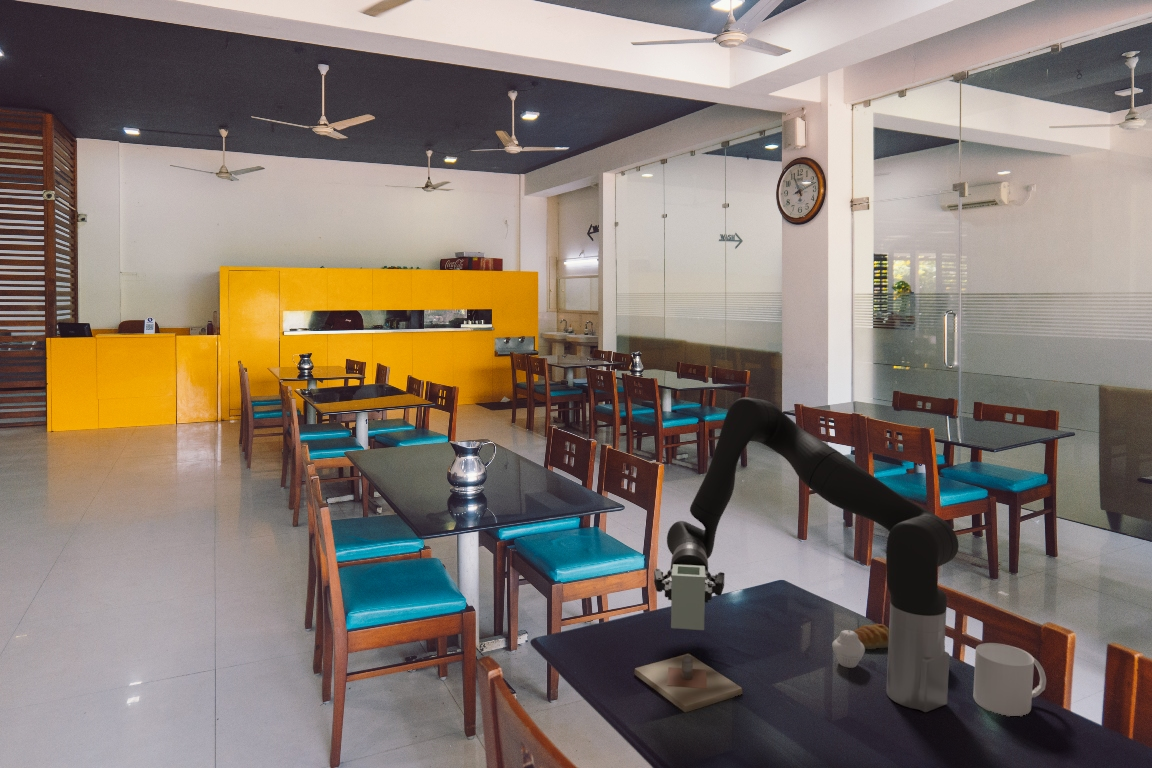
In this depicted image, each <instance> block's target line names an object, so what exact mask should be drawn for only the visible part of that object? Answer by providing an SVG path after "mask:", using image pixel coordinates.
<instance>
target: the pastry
mask: <svg viewBox="0 0 1152 768" xmlns="http://www.w3.org/2000/svg"><path fill="white" fill-rule="evenodd" d="M853 631H854V632H855V633H856V634H857V635H858V639H859V640H860V642H861V643H862V644H863V645H864V647H865V650H866V649H867V650H876V648H879V649H886V648H888V643H889V628H888V626H886V625H885V624H883V623H882V624H881V623H880V624H879V623H878V622H877V623H875V624H868V625H865V624H864V625H861V626H859V627H858V628H857V629H854V630H853Z"/></svg>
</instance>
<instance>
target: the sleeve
mask: <svg viewBox="0 0 1152 768" xmlns="http://www.w3.org/2000/svg"><path fill="white" fill-rule="evenodd" d="M670 601H671V604H670V605H671V609H670V628H671V629H683V630H694V631H695V630H697V631H705V609H706V608H705V607H706V606H705V604H706V602H705V566H695V565H677V564H673V568H672V594H671V600H670Z"/></svg>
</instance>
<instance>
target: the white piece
mask: <svg viewBox="0 0 1152 768" xmlns="http://www.w3.org/2000/svg"><path fill="white" fill-rule="evenodd" d="M831 644H832V645H831V646H832V650H833V653H834V655H835V658H836V659H837V661H838V664H840V666H842V667H845V668H849V669H850V668H851V669H854V668H856V667H857V666H858V664H859V663H860V662H861V659H862V658H863V656H864V654H865V652H866V649H865V647H864V645H863V644H862V643H861V642H860V640H859V639H858V635H857V634H856V633H855V632H854V630H851V629H844V630H841V632H839V636H838V637H837V638H836V639H834V640H833V641H832V643H831Z"/></svg>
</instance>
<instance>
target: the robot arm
mask: <svg viewBox="0 0 1152 768" xmlns="http://www.w3.org/2000/svg"><path fill="white" fill-rule="evenodd" d="M719 433H720V434H719V437H718V439H717V442H716V446H715V448H714V452H713V456H712V458H711V461H710V463H709V467H708V469H707V471H706V474H705V476H704V478H703V481H702V483H701V484H700V486H699V488H698V491H697V492H696V494H695V497H694V499H693V500H692V503H691V504H690V507H689V512H690V514H691V516H692V517H693V518H695V519H696V520H697V521H698V522H699V523H700V524H701V525H702V526H703V528H704V529H702V528H699V527H698V526H695V525H693V524H691V523H690V522H687V521H684V520H678V521H676V522H673V524H672V525H671V526H670V527H669V529H668V532H667V535H666V546H667V548H668V550H669V552H670V554H671V555H672V556H671V561H670V569H669V570H667V572H664V571H661V569H660V568H654V569H653V584H654V588H655V592H657V593H658V592H659V593H661V592H663V591H664V597H665V598H667V600H668V601H671V594H672V568H673V564H677V565H695V566H705V603H709V601H712V600H713V594H714V595H715V596H717V597H718V596H721V595H722V593H723V591H724V587H725V573H724V572H722V571H721V572H718V573H717V574H716V573H715V575H712V573H710V572H709V560H708V559H709V558H710V557H711V556H712V553H713V551H714V546H715V545H714V544H715V540H716V534H717V529H718V526H719V523H720V520H721V518H722V516H723V514H724V512H725V510H726V508H727V507H728V504H729V502H730V500H731V499H732V496H733V493H734V489H735V484H736V483H735V482H736V471H737V466H738V462H739V460H740V457H741V455H742V453H743V452H744V450H745V449H746V447H747V446H748V444H749V443H750V442H756V443H760V444H762V445H764V446H766V447H767V448H769V449H771V450H773V452H774V451H775V452H776V453H777V454H779V455H780V456H781V457H783V458H784V459H785V460H786V461H787V462H788V463H789V465H790V466H791V467H792V469H793V470H794V472H795V473H796V475H797V477H799V479H800V480H801V482H802V483H803V484H804V485H806V486H807V487H808V488H809V489H810V490H812V491H813V492H814V493H816V495H818V496H820V497H821V498H823V499H824V500H825V501H827V502H828V503H829V504H832V505H833V506H835V507H837V508H839V509H842V510H843V511H847V512H848V513H851V514H854V515H857V516H860V517H862V518H865V519H868V520H870V521H872V522H875V523H876V524H877V525H880V526H881V527H883V528H884V529H885V530H887V531H888V532H889V533H888V536H887V540H886V549H885V552H886V553H885V559H886V560H885V561H886V565H885V567H886V568H885V570H886V576H885V577H886V586H887V590H889V591H888V592H889V594H890V598H889V599H890V603H889V619H888V620H889V625H888V626H889V628H888V629H889V643H888V647H887V649H888V650H887V668H886V671H887V673H886V695H887V696H888V698H890V700H892V701H893V702H895V703H897V704H899V705H900V706H903V707H905V708H909V709H915V710H920V711H922V712H924V713H927V712H930V711H932V710H935V709H938V708H941V707H943V706H946V705H947V704H948V692H949V688H948V687H949V668H950V653H949V652H948V651H946V650H945V651H944V646H945V647H946V644H945V642H946V625H947V608H948V607H947V605H948V598H947V594H946V593H945V592H944V591H943V590H942V589H940V588H939V587H938V586H939V585H938V569H939V567H941V566H944V565H946V564H947V563H949V562H950V561H951V560H953V559H954V558H955V557H956V556H957V554H958V552H959V545H960V544H959V539H958V537H957V534H956V532H955V530H954V529H953V528H952V526H951V525H950V524H949V523H948V522H947V521H946V520H944V519H943V518H942V517H940V516H938V515H937V514H935V513H934V512H931V511H929V510H927V509H926V508H925V507H922V506H920V505H918V504H917V503H915V502H913V501H911V500H910V499H908V498H906V497H904V496H902V494H899V493H898V492H896V491H894V489H892V488H891V487H889V486H888V485H886V484H885V483H884V482H882V481H880V480H879V479H878V478H876V477H875V476H874V475H872V474H871V473H869V472H868V471H866V470H865V469H863V468H862V467H861V466H859V465H858V464H857V463H855V462H854V461H852V460H851V459H850V458H849V457H847V456H846V455H844V454H842V453H841V452H839V451H838V450H837V449H835V448H834V447H832V446H830V445H829V444H827V443H826V442H824V441H823V440H821V439H820V438H817V437H816V436H815V435H812V434H811V433H809V432H808V431H806V430H804V429H803V428H802V427H800V426H799V425H798V424H797V423H796V422H794V420H792V419H791V418H790V417H789V416H788V415H787V414H786V413H784V411H782V410H781V409H780V408H779V407H778V406H776V405H775V404H774V403H772V402H770V401H768V400H766V399H765V400H764V399H759V398H755V397H741V398H738V399H735V401H733V402H732V404H731V405H730V406H729V408H728V410H727V412H726V414H725V417H724V421H723V424H722V427H721V430H720V432H719Z"/></svg>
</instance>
